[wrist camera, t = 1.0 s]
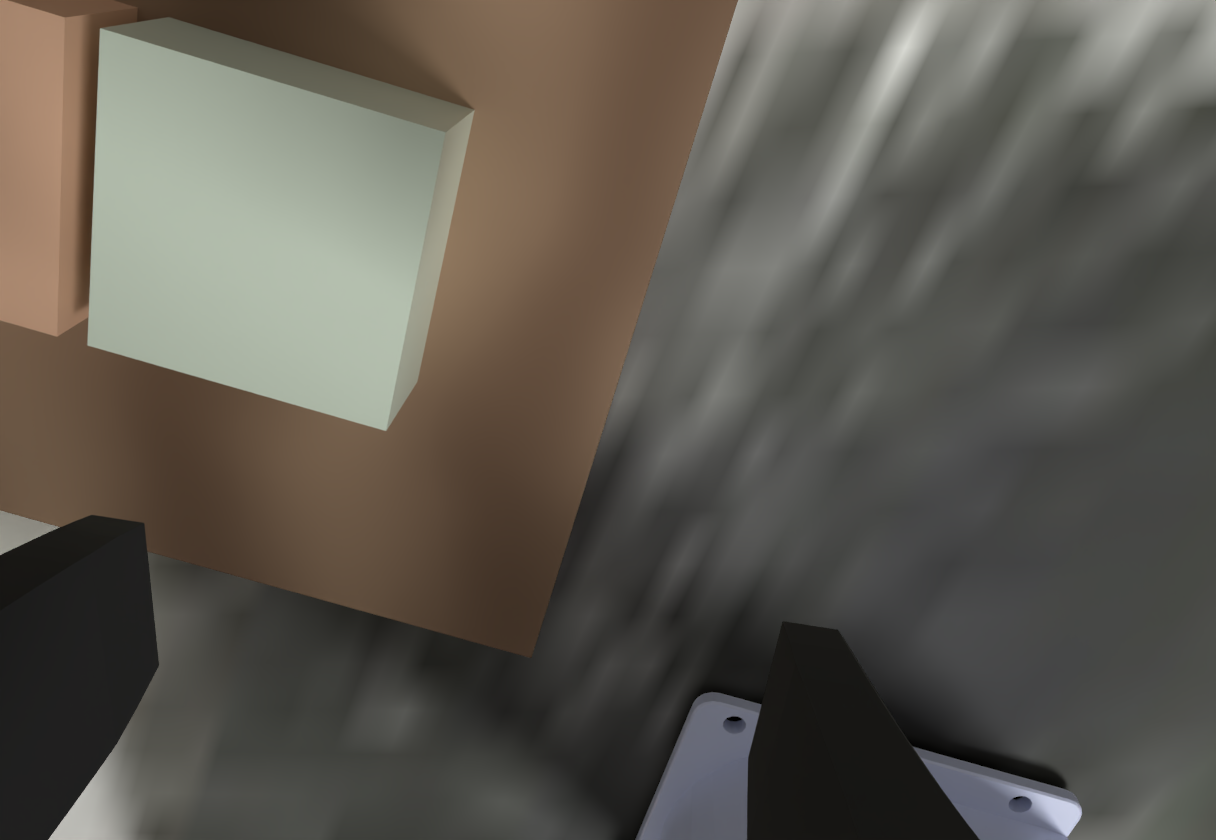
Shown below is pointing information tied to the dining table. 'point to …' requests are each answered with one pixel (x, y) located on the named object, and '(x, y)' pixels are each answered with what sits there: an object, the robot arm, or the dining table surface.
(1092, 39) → the dining table surface
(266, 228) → the tile sage
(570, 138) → the walnut board
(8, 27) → the tile terracotta
